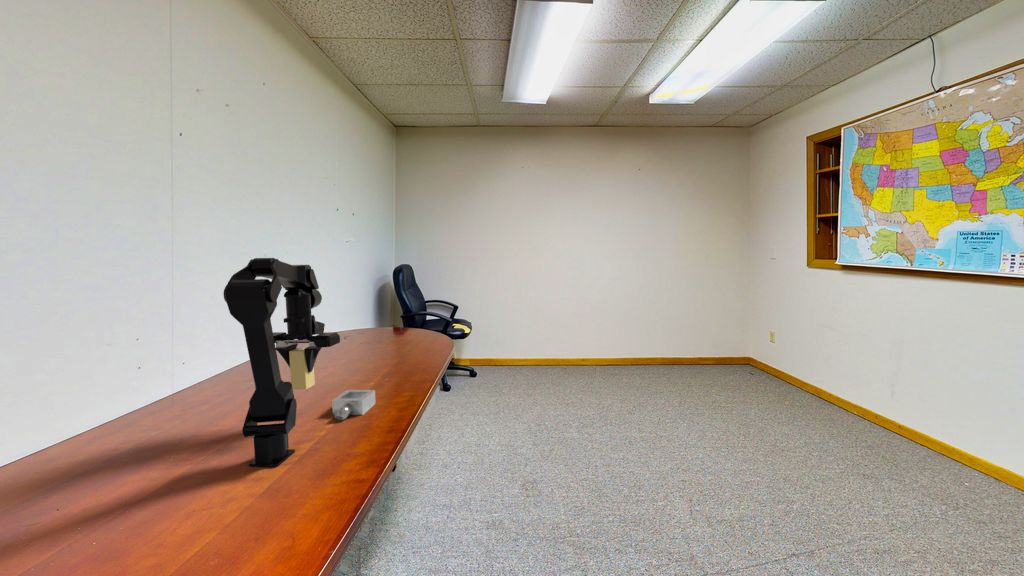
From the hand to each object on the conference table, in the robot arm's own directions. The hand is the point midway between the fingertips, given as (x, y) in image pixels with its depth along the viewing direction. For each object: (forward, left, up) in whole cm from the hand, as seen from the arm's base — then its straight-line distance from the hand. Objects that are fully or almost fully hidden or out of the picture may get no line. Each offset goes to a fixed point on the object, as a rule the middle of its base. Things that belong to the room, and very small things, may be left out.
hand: (302, 371), depth 106 cm
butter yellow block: (0, 0, -4) cm, 4 cm away
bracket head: (+8, -10, -13) cm, 18 cm away
